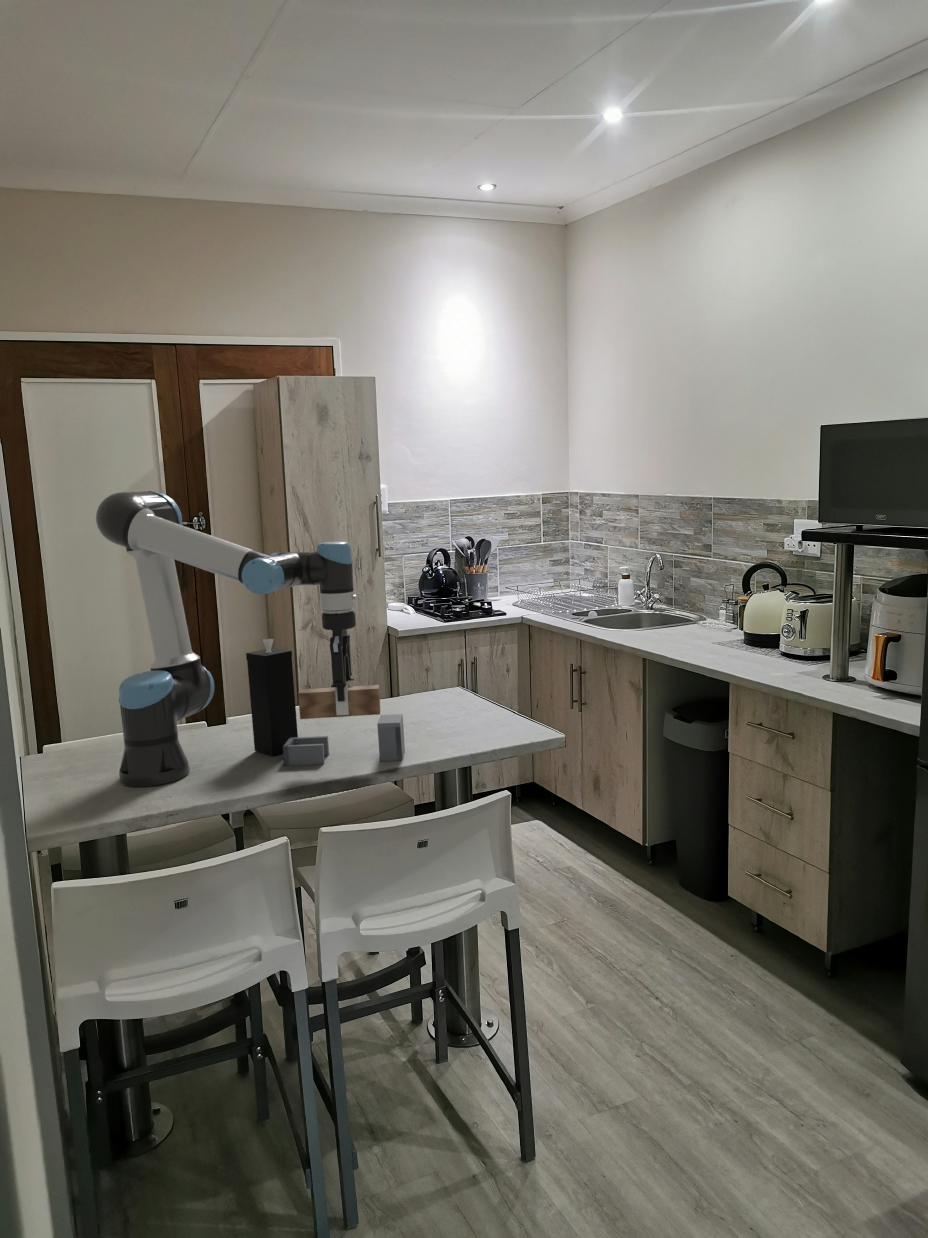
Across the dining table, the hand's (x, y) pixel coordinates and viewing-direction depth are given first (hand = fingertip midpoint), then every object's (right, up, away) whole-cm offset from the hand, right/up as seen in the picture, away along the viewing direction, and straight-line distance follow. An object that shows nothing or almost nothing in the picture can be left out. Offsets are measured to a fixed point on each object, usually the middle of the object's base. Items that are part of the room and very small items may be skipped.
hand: (344, 711), depth 210 cm
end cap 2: (+10, -11, +7) cm, 17 cm away
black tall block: (-19, -11, +16) cm, 27 cm away
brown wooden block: (-1, -1, 0) cm, 1 cm away
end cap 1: (-10, -12, +7) cm, 17 cm away
